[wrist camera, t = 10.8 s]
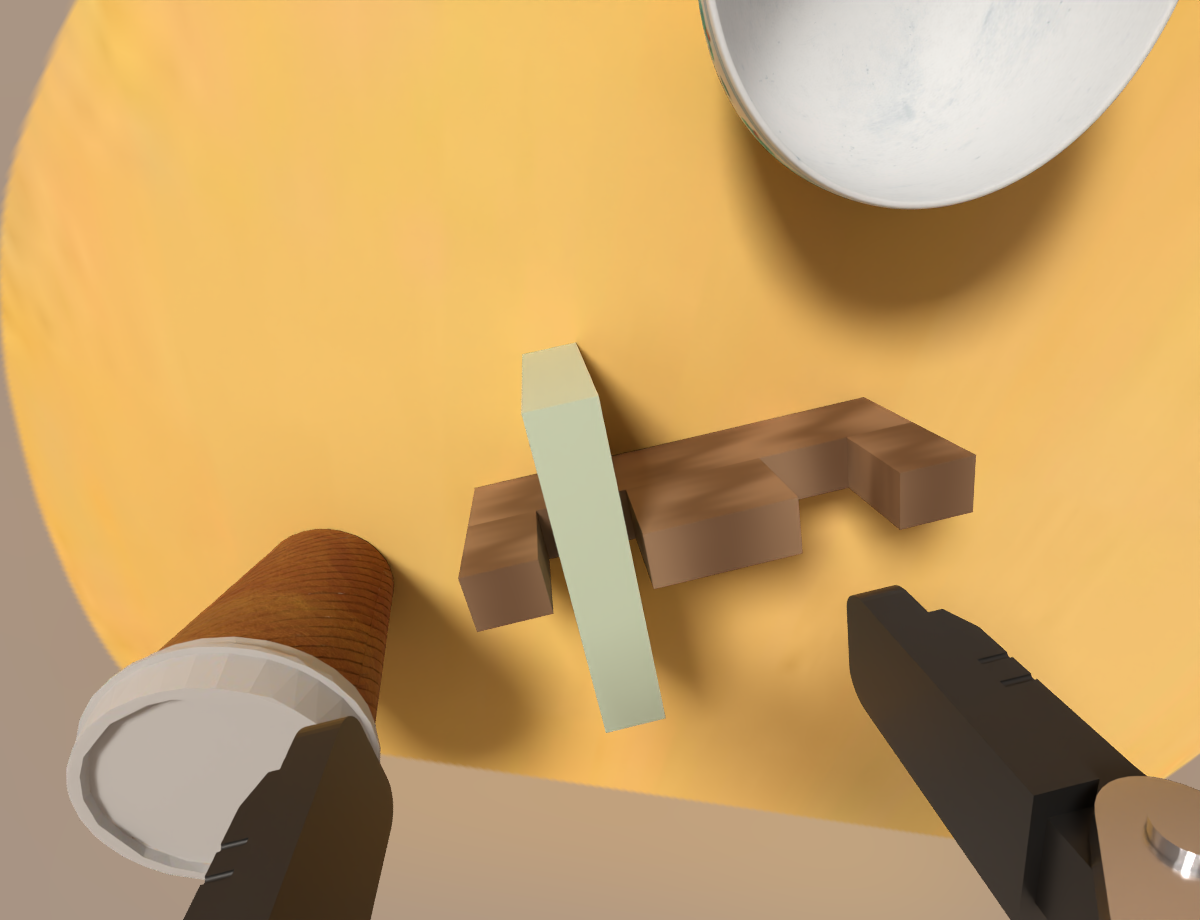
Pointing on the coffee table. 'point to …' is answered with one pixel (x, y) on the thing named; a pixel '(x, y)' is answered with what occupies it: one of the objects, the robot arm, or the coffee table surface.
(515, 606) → the rail
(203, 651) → the disposable coffee cup
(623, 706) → the cross piece
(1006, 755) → the robot arm
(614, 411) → the coffee table surface
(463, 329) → the coffee table surface
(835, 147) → the chinaware
